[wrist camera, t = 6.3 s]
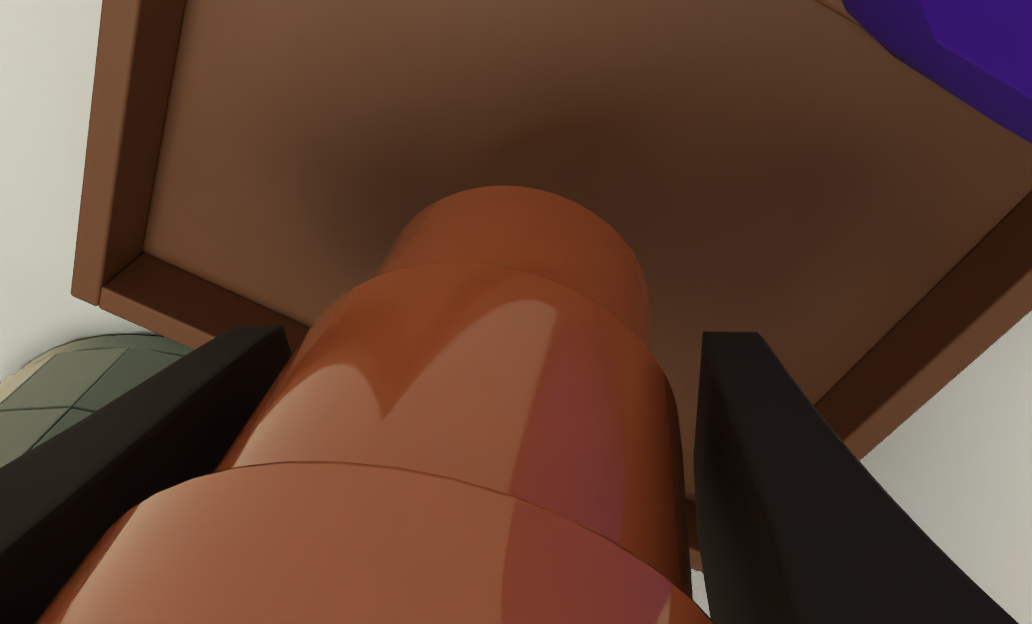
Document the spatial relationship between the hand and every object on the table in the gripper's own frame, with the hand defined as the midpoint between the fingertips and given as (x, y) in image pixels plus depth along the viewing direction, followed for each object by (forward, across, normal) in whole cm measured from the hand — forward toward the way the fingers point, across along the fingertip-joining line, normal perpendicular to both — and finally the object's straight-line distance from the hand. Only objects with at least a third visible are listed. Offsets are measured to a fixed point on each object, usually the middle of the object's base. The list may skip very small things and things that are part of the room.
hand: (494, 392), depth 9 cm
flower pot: (+2, 0, 0) cm, 2 cm away
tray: (+6, 0, 0) cm, 6 cm away
